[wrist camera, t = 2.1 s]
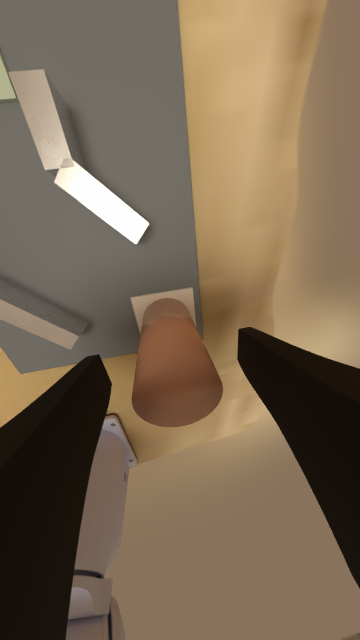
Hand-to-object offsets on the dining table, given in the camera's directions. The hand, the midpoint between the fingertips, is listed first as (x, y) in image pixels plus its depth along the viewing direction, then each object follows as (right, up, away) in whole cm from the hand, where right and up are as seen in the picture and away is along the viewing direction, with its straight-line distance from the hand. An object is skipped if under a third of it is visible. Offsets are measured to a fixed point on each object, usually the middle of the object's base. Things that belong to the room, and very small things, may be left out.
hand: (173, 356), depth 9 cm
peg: (-1, +2, +4) cm, 5 cm away
